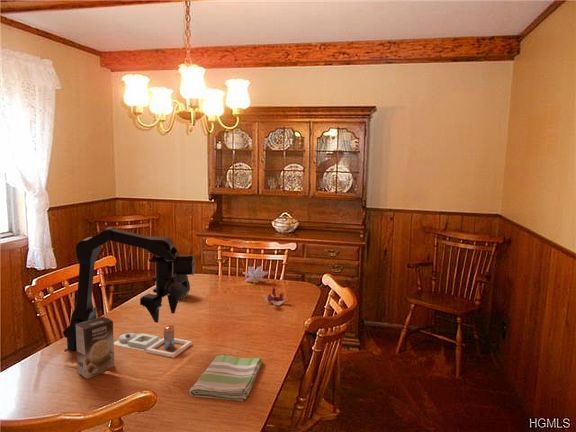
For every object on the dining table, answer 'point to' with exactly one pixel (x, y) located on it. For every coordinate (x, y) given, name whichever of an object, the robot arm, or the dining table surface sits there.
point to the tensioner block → (137, 341)
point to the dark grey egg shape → (181, 279)
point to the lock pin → (169, 337)
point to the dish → (169, 354)
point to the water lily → (255, 274)
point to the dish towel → (227, 378)
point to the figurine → (274, 298)
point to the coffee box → (94, 346)
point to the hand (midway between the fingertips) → (164, 317)
